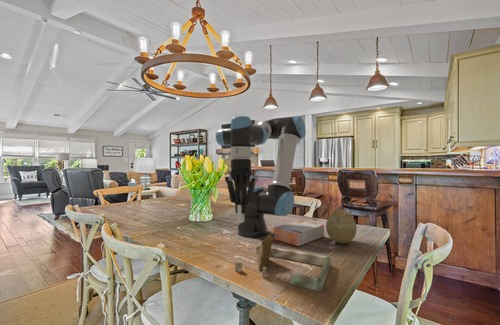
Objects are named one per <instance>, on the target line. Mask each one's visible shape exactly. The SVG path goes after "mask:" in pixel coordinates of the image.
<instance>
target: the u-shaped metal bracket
mask: <svg viewBox="0 0 500 325" xmlns="http://www.w3.org/2000/svg"><path fill="white" fill-rule="evenodd" d="M260 246H261V244H256V246H255V247H256V249H255V250H256V251H255V252H256V254H258V251H259V249H260ZM269 257H274V258H279V259H286V260H290V261H295V262H301V263H306V264H311V265H317V266H321V269H320V272H319V275H318V277H315V276H314V277H313V276H308V275H303V274H299V273H295V272H290V275H289V277H290V278H289V280H290V281H289V282H290V285H291V286H292V285H293V286H297V287H300V288H303V289H304V288H305V289H308V290H313V291H317V292H322V291H323V288H324V285H325V282H326V279H327V276H328V273H329V270H330V268H331V256H330V257H329V256H327V255H326V256H325V255H321V254H313V253H309V252H307V253H306V252H301V251H297V250H290V249H284V248H279V247H273V246H271V251H270V256H269ZM234 262H235V263H234V270H235V271H234V272H237V273H242V272H243V262H242V261H240V260H236V261H234ZM267 277H268V266H266V267H263V270H262V278H263V279H266V278H267Z"/></svg>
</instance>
